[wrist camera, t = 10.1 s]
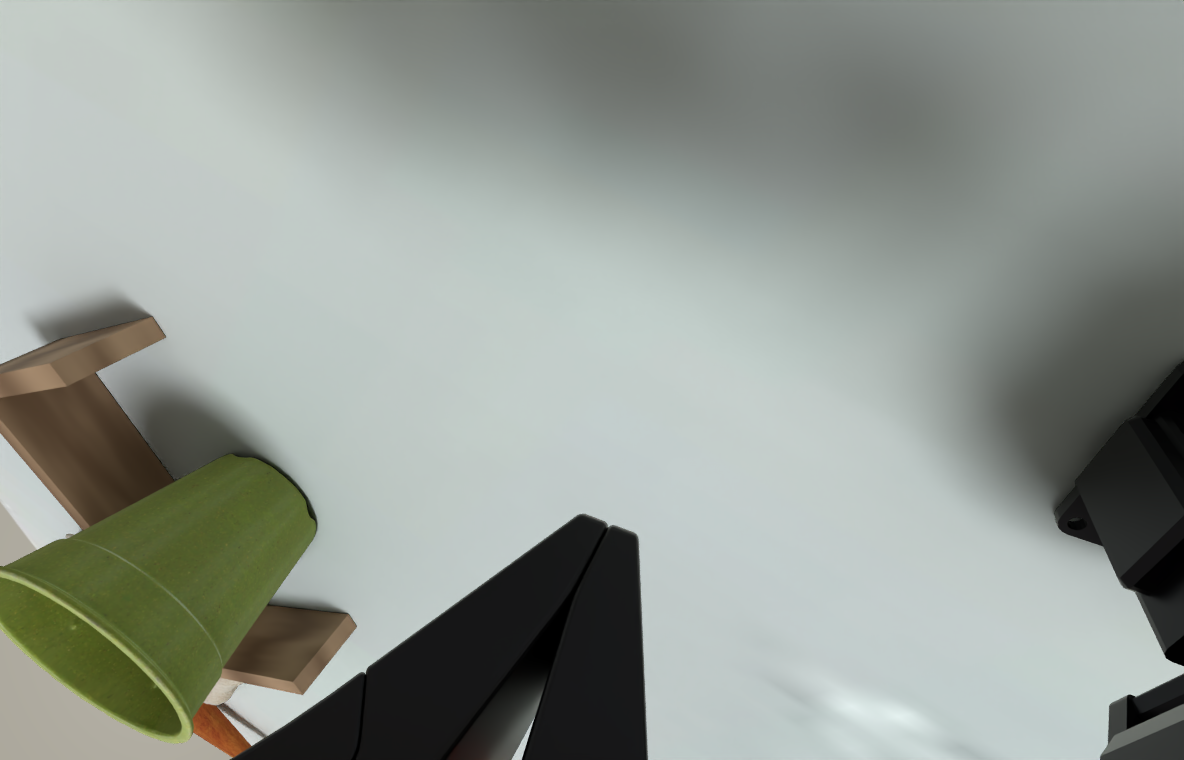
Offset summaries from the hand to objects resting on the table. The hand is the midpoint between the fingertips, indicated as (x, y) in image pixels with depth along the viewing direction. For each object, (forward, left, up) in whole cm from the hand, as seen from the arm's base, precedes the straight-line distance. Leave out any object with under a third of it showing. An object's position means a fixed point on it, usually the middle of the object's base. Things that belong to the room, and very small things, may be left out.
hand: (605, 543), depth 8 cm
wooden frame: (+27, +24, -13) cm, 38 cm away
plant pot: (+22, +23, -13) cm, 35 cm away
